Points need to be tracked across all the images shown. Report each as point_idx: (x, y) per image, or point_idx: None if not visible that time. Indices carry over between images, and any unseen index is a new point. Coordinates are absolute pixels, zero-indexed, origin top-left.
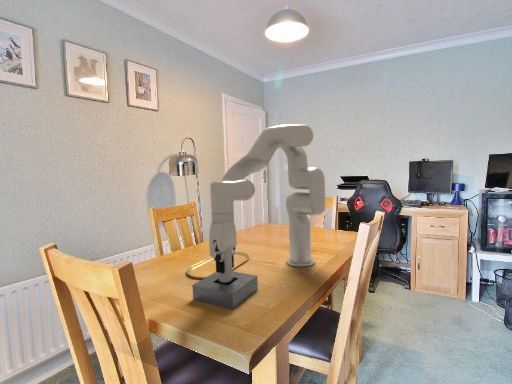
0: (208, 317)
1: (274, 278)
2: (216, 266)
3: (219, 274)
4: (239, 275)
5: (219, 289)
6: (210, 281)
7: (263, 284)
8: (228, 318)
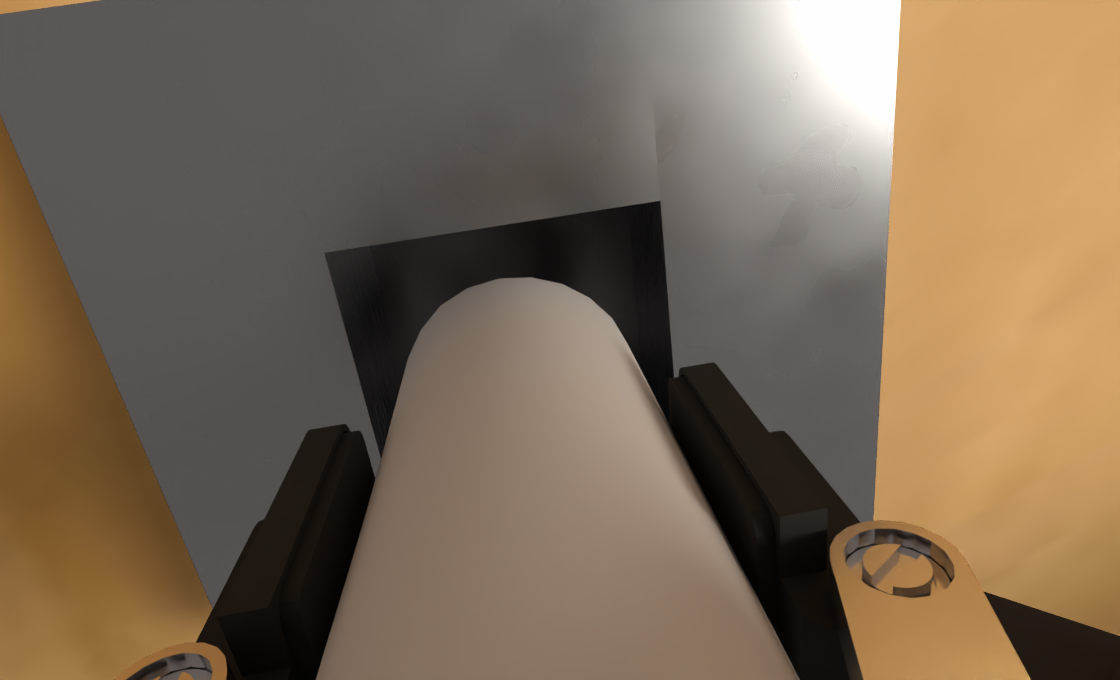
0: (28, 509)
1: (1113, 462)
2: (283, 509)
3: (395, 410)
4: (777, 417)
5: (222, 528)
6: (324, 199)
7: (924, 463)
8: (165, 641)
